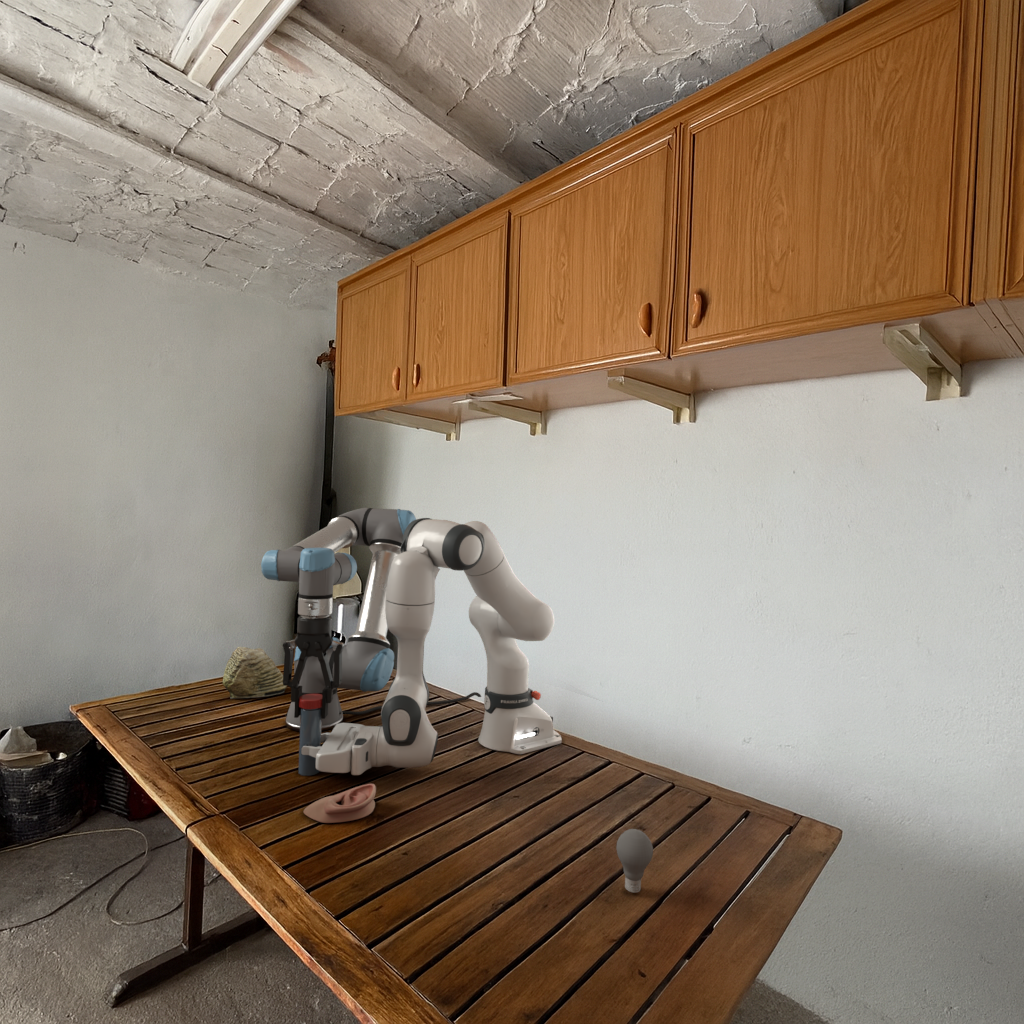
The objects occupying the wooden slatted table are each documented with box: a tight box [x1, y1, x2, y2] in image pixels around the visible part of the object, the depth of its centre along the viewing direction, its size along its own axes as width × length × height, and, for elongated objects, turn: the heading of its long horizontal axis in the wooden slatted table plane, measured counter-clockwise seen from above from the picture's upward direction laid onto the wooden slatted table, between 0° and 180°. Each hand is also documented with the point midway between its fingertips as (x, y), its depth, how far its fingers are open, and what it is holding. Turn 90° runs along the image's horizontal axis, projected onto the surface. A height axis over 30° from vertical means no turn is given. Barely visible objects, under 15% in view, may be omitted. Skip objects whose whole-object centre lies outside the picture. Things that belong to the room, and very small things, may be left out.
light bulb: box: [615, 828, 654, 894], centre depth 106 cm, size 6×6×10 cm
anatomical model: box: [302, 783, 377, 824], centre depth 128 cm, size 13×4×12 cm
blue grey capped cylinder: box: [297, 707, 322, 777], centre depth 146 cm, size 5×5×16 cm
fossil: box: [222, 646, 288, 699], centre depth 198 cm, size 9×18×15 cm, turn 132°
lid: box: [299, 694, 322, 709], centre depth 145 cm, size 6×6×2 cm
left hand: (311, 715), depth 145 cm, fingers closed on lid, 5 cm apart
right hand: (306, 744), depth 146 cm, fingers closed on blue grey capped cylinder, 5 cm apart
